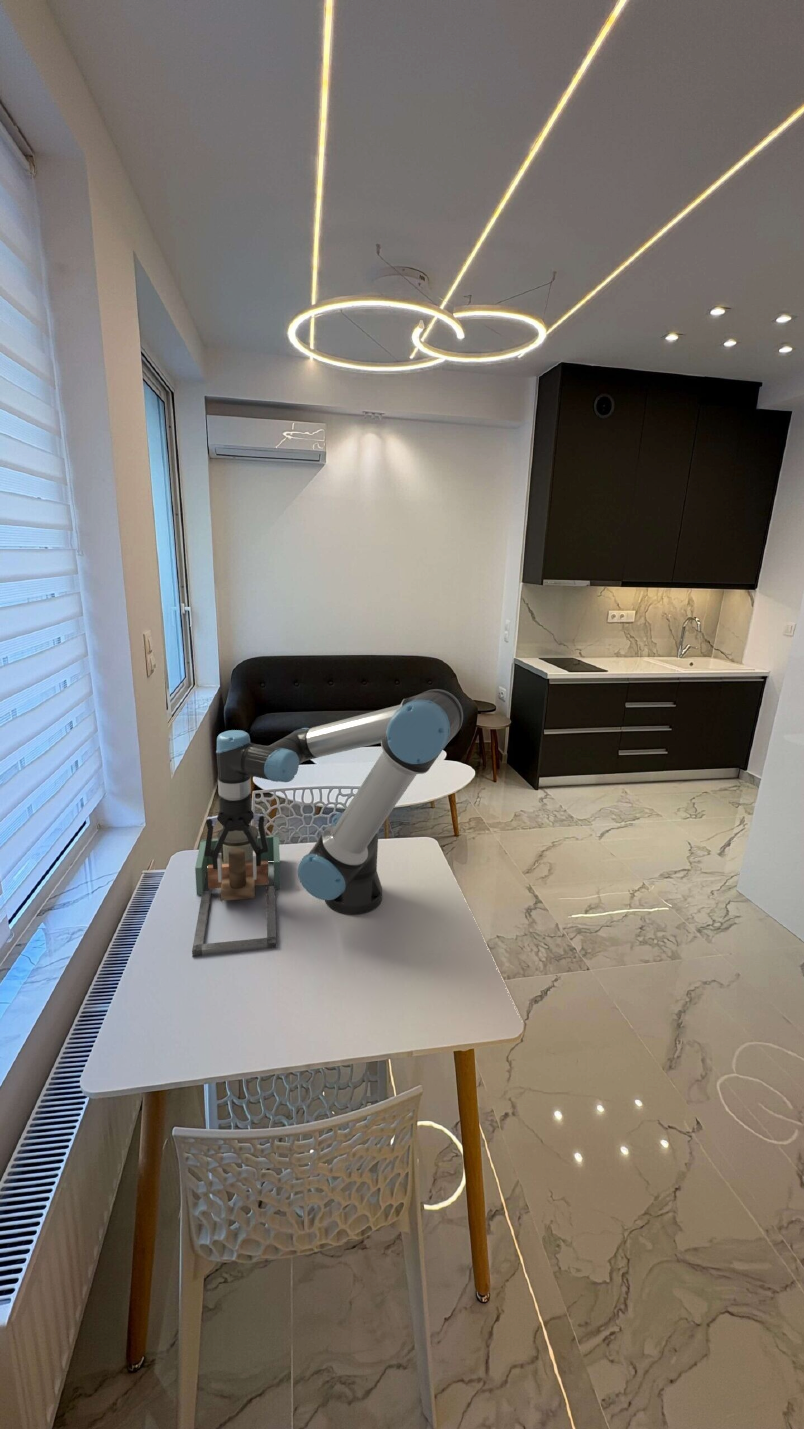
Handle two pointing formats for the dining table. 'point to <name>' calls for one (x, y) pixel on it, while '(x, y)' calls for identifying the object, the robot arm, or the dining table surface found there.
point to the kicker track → (233, 946)
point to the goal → (271, 855)
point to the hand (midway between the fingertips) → (237, 877)
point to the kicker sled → (237, 877)
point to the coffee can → (237, 844)
